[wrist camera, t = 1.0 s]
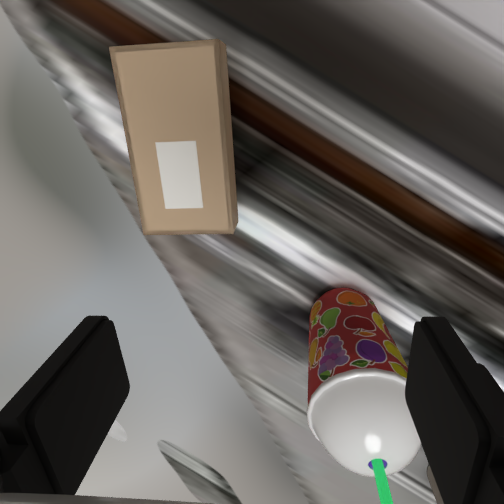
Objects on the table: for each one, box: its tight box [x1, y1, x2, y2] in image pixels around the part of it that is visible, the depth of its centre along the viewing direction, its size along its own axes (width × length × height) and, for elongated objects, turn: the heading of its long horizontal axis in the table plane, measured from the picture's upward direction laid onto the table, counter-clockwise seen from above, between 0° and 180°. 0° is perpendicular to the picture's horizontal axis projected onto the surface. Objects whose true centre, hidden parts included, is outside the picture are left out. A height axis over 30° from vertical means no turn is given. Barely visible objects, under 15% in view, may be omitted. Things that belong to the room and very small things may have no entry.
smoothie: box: [307, 288, 422, 504], centre depth 29 cm, size 8×8×20 cm
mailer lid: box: [109, 39, 238, 235], centre depth 27 cm, size 13×7×3 cm, turn 3°
